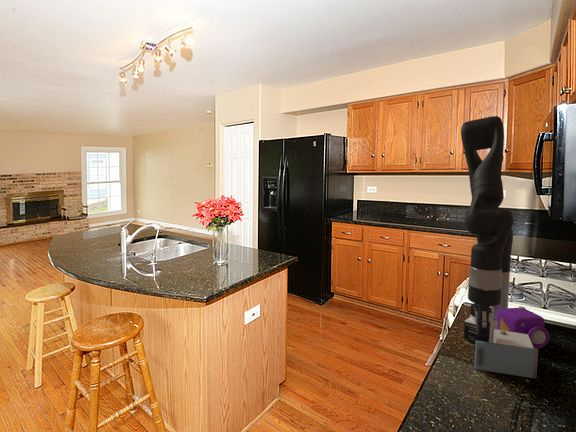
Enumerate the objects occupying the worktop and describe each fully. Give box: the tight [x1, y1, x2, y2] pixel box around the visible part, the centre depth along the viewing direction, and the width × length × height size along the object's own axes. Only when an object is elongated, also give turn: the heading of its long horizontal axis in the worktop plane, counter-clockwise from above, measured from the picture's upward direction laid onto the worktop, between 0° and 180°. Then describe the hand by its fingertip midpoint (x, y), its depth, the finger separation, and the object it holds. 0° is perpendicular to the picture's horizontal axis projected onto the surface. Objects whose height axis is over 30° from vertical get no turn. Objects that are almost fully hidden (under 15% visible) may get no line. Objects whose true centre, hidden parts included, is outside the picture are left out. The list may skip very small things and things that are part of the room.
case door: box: [474, 341, 539, 379], centre depth 87 cm, size 2×14×7 cm, turn 70°
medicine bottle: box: [463, 303, 498, 347], centre depth 104 cm, size 7×7×12 cm
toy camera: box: [496, 305, 550, 350], centre depth 103 cm, size 11×14×10 cm
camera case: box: [493, 329, 534, 348], centre depth 92 cm, size 10×9×8 cm
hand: (481, 346), depth 91 cm, fingers closed
